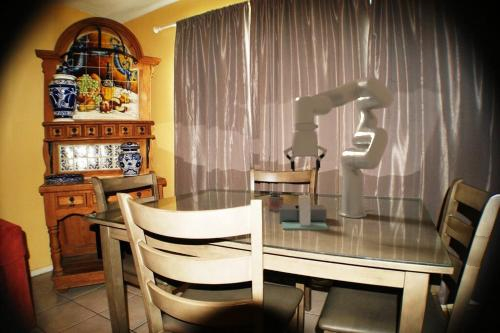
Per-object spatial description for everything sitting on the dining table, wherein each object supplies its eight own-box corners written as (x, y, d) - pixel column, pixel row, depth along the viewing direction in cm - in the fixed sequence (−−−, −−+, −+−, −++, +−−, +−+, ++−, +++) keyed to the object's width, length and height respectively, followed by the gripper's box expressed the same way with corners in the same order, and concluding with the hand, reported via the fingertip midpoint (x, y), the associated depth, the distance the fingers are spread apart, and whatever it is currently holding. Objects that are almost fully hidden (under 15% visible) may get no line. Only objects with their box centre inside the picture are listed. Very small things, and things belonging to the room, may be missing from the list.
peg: (308, 223, 119) (309, 195, 118) (310, 226, 115) (310, 197, 114) (298, 223, 119) (298, 195, 118) (299, 226, 115) (299, 197, 114)
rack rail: (322, 217, 130) (322, 204, 130) (326, 223, 122) (326, 209, 121) (278, 217, 132) (278, 204, 131) (279, 223, 123) (279, 209, 122)
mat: (324, 224, 121) (324, 222, 121) (328, 230, 113) (328, 228, 113) (281, 223, 122) (281, 222, 122) (282, 229, 114) (282, 227, 114)
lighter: (267, 211, 143) (267, 191, 142) (269, 209, 146) (269, 190, 145) (282, 213, 139) (282, 193, 138) (284, 211, 142) (284, 191, 141)
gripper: (324, 127, 117) (325, 169, 118) (282, 129, 118) (283, 170, 120) (328, 127, 109) (329, 171, 111) (283, 128, 110) (284, 172, 112)
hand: (305, 170), depth 115 cm, fingers open, 9 cm apart
